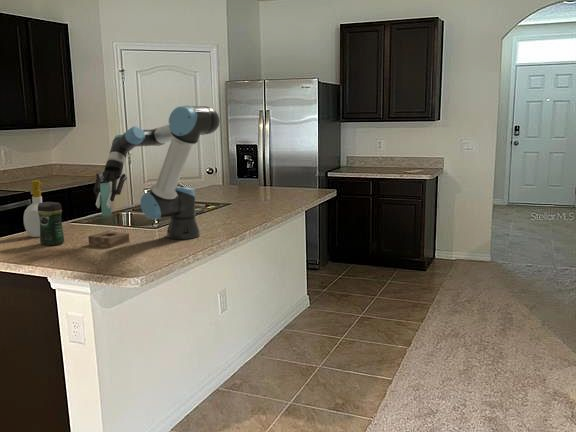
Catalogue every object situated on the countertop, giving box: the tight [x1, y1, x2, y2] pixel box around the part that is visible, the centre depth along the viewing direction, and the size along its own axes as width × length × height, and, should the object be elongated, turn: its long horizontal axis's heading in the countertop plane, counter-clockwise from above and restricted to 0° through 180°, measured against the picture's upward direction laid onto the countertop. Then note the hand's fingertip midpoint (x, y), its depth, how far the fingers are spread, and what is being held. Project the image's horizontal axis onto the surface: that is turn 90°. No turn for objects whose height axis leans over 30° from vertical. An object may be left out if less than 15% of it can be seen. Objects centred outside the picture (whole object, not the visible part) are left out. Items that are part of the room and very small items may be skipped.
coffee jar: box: [38, 201, 65, 246], centre depth 246 cm, size 10×8×19 cm
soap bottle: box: [23, 179, 43, 238], centre depth 261 cm, size 14×9×26 cm, turn 146°
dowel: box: [100, 182, 112, 217], centre depth 244 cm, size 4×4×14 cm
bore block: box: [87, 230, 130, 249], centre depth 247 cm, size 12×12×4 cm
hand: (102, 206), depth 241 cm, fingers closed on dowel, 4 cm apart
